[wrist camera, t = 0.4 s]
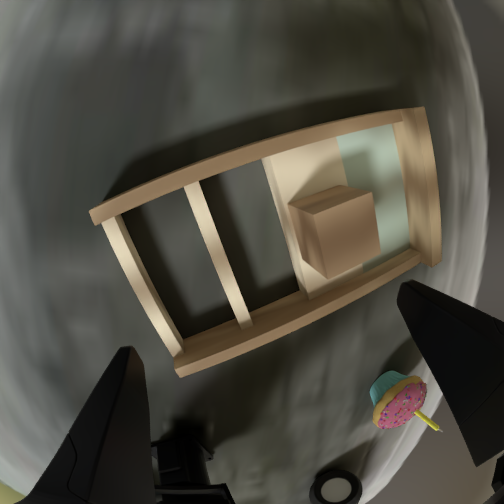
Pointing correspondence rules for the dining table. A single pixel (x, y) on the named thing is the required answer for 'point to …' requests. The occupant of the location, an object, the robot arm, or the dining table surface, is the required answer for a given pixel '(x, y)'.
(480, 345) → the robot arm
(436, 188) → the board
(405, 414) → the cupcake
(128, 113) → the dining table surface
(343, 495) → the portable speaker
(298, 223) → the walnut block
